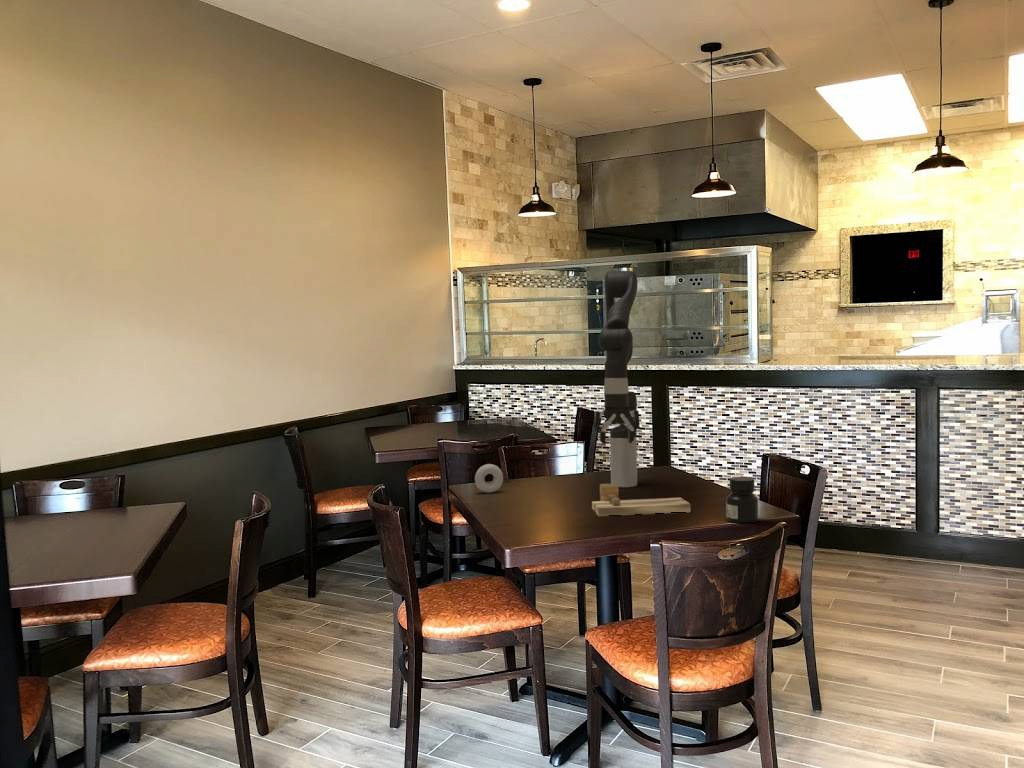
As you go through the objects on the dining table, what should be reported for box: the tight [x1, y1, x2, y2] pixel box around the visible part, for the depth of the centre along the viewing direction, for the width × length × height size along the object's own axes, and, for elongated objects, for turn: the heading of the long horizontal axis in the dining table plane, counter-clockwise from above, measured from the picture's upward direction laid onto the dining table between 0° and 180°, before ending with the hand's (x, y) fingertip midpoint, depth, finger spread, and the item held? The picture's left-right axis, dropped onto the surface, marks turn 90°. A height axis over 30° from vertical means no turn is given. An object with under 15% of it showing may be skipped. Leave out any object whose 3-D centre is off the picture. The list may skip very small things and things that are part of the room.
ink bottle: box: [725, 476, 759, 524], centre depth 245 cm, size 10×9×12 cm
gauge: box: [599, 483, 621, 505], centre depth 263 cm, size 14×5×7 cm, turn 6°
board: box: [591, 497, 692, 517], centre depth 260 cm, size 10×28×2 cm, turn 96°
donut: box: [474, 463, 504, 494], centre depth 294 cm, size 10×4×10 cm, turn 105°
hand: (616, 443), depth 271 cm, fingers open, 8 cm apart
